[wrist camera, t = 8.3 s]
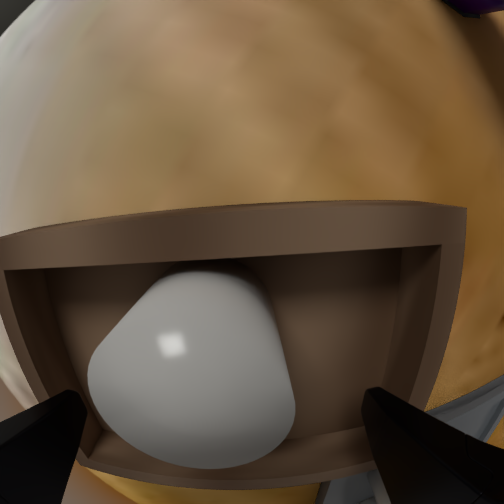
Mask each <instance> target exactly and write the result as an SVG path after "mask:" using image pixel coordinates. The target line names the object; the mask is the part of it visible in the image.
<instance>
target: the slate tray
mask: <svg viewBox="0 0 504 504" xmlns="http://www.w3.org/2000/svg"><path fill="white" fill-rule="evenodd" d="M426 413H428V414H429V415H431V416H433V417H435V418H437V419H439V420H441V421H443V422H445V423H446V424H448V425H450V426H452V427H454V428H456V429H458V430H460V431H462V432H464V433H465V434H468V435H470V436H472V437H474V438H476V439H479V440H481V441H483V442H485V443H486V442H487V440H488V439H489V437H490V436H491V434H492V433H493V431H494V430H495V428H496V426H497V425H498V423H499V422H500V420H501V418H502V417H503V415H504V375H502V376H500V377H499V378H497V379H495V380H493V381H492V382H490V383H488V384H486V385H484V386H482V387H480V388H478V389H477V390H475V391H473V392H471V393H468V394H466V395H464V396H462V397H460V398H458V399H456V400H453V401H451V402H449V403H447V404H444V405H442V406H439V407H437V408H434V409H432V410H429V411H427V412H426ZM368 472H369V471H368ZM368 472H364V473H360V474H356V475H352V476H348V477H344V478H339V479H335V480H330V481H324V482H321V484H320V488H319V491H318V495H317V498H316V501H315V504H357V503H359V502H361V501H363V500H365V499H368V498H370V497H373V496H374V494H373V491H372V488H371V486H370V483H369V480H368V478H367V474H368Z"/></svg>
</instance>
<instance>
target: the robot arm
mask: <svg viewBox="0 0 504 504" xmlns="http://www.w3.org/2000/svg"><path fill="white" fill-rule="evenodd" d="M87 415H88V410H87V407H86V405H85V403H84V401H83V399H82V397H81V395H80V393H79V392H78V391H75V390H70V389H67V390H65V391H63V392H61V393H59V394H57V395H55V396H53V397H51V398H49V399H47V400H45V401H43V402H41V403H39V404H37V405H35V406H33V407H31V408H29V409H27V410H25V411H23V412H21V413H18V414H16V415H14V416H12V417H10V418H8V419H6V420H4V421H2V422H0V504H61V502H62V499H63V495H64V492H65V489H66V485H67V482H68V479H69V476H70V473H71V470H72V467H73V464H74V461H75V458H76V456H77V453H78V450H79V446H80V442H81V438H82V434H83V430H84V426H85V423H86V419H87ZM361 415H362V419H363V422H364V426H365V430H366V434H367V438H368V442H369V445H370V449H371V453H372V456H373V458H374V461H375V463H376V466H377V468H378V471H379V474H380V476H381V479H382V481H383V484H384V486H385V489H386V492H387V494H388V497H389V500H390V502H391V504H504V449H501V448H499V447H496V446H493V445H490V444H488V443H485V442H483V441H481V440H479V439H476V438H474V437H472V436H470V435H468V434H465V433H464V432H462V431H460V430H458V429H456V428H454V427H452V426H450V425H448V424H446V423H445V422H443V421H441V420H439V419H437V418H435V417H433V416H431V415H429V414H428V413H426V412H424V411H422V410H420V409H418V408H417V407H415V406H413V405H411V404H409V403H408V402H406V401H404V400H402V399H400V398H399V397H397V396H395V395H393V394H392V393H390V392H388V391H386V390H385V389H383V388H381V387H379V386H377V387H372V388H368V389H366V391H365V393H364V397H363V402H362V406H361Z"/></svg>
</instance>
